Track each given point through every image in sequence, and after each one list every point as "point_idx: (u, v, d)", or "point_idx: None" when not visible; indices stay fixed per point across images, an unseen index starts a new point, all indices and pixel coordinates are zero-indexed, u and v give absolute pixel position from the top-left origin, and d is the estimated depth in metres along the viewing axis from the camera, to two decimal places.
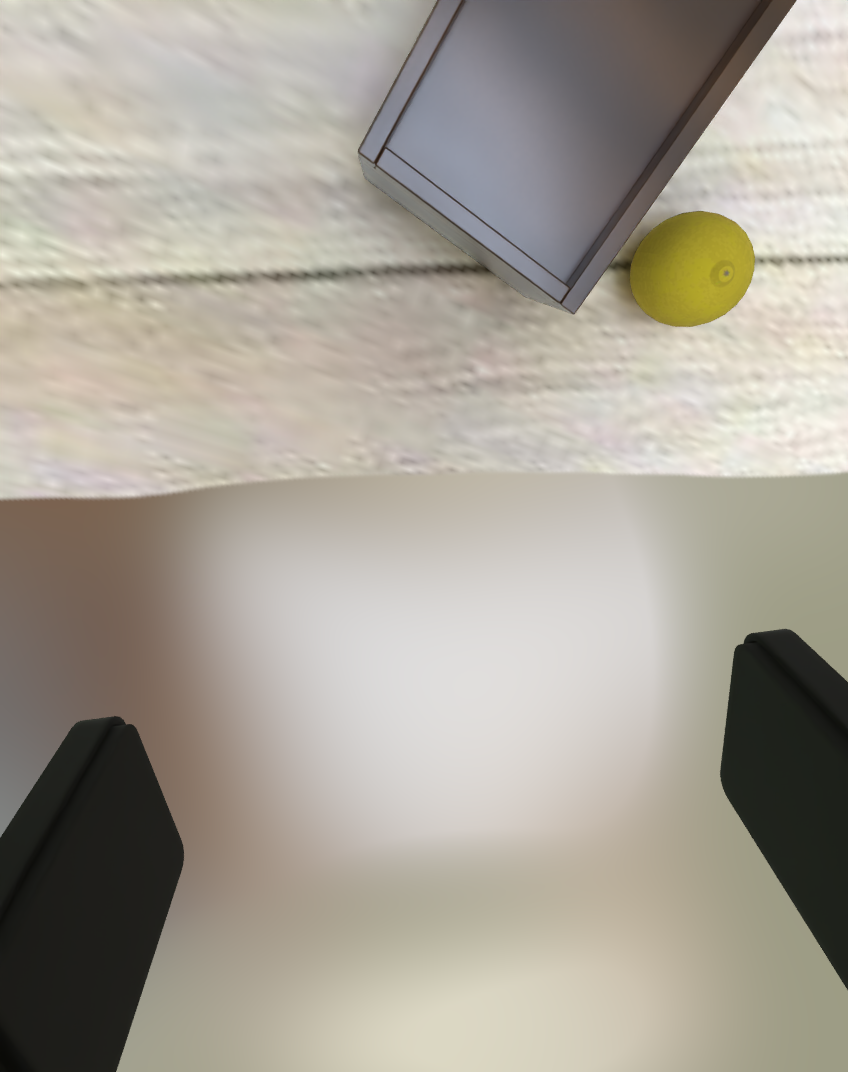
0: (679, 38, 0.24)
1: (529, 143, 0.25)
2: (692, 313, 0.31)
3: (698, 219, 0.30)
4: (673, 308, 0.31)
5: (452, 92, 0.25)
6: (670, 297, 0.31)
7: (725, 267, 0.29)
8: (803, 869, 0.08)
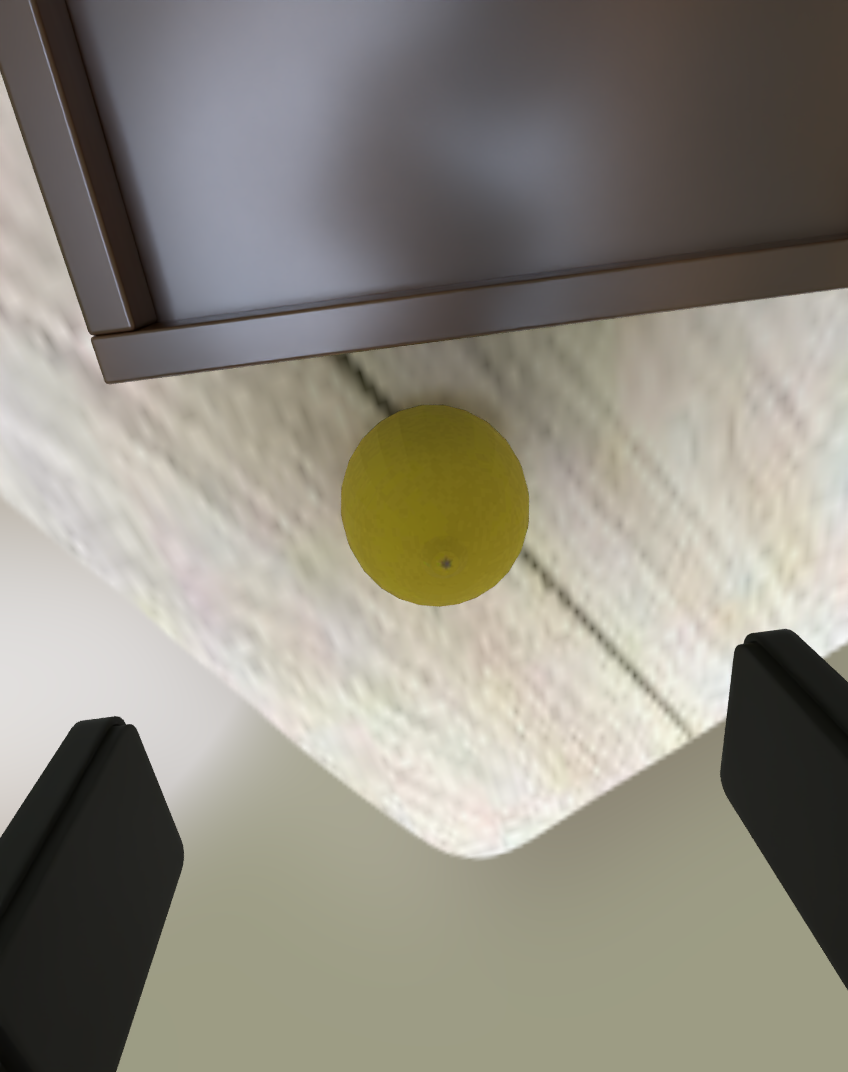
0: (681, 136, 0.11)
1: None
2: (370, 565, 0.16)
3: (488, 453, 0.16)
4: (355, 533, 0.16)
5: None
6: (362, 515, 0.16)
7: (450, 554, 0.15)
8: (803, 869, 0.08)
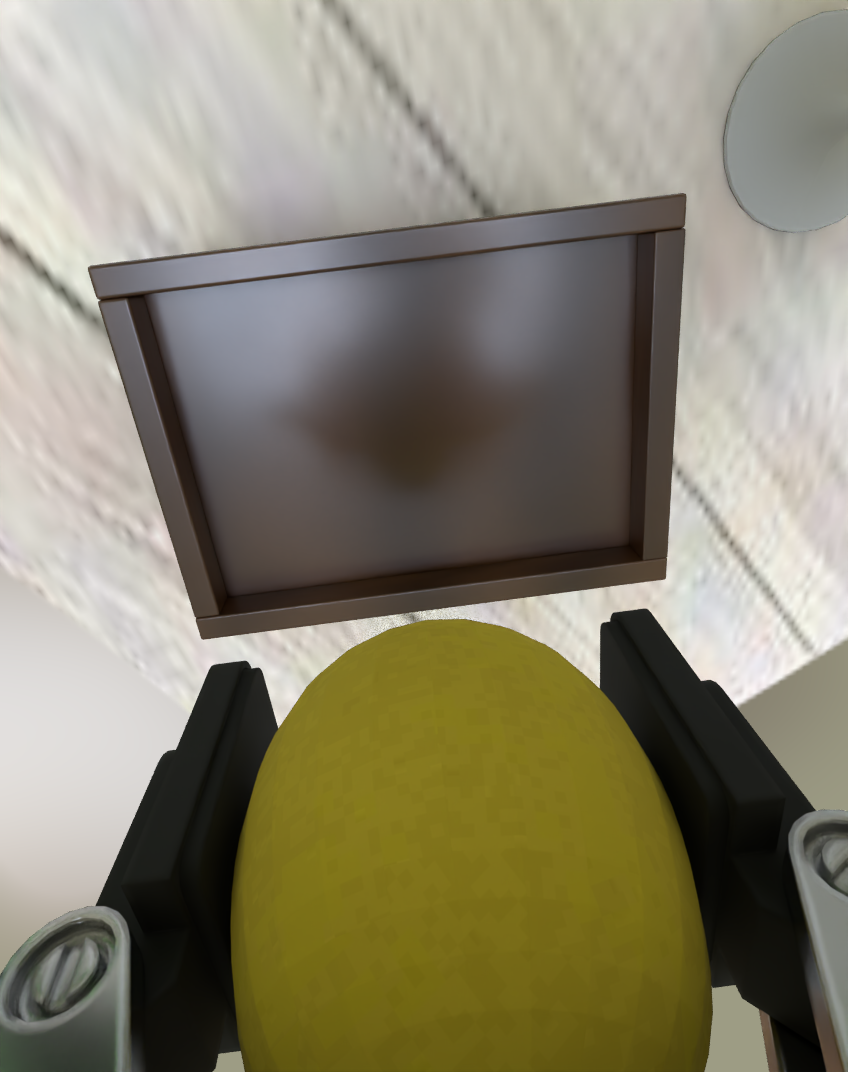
0: (509, 508, 0.20)
1: (305, 449, 0.19)
2: None
3: (624, 864, 0.06)
4: None
5: (268, 326, 0.17)
6: (259, 1058, 0.06)
7: None
8: None
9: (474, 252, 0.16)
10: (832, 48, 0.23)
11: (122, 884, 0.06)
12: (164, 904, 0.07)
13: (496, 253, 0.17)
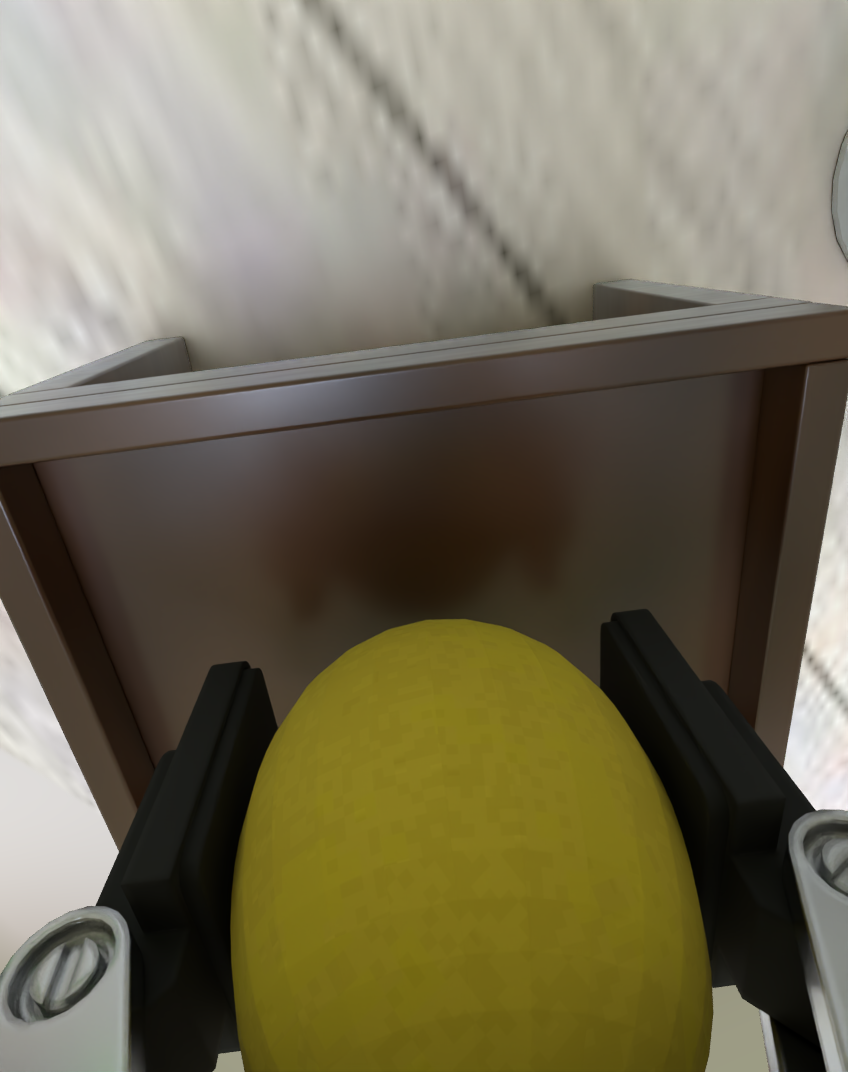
0: None
1: (275, 643, 0.13)
2: None
3: (625, 864, 0.06)
4: None
5: (216, 488, 0.12)
6: (261, 1057, 0.06)
7: None
8: None
9: (526, 398, 0.10)
10: None
11: (122, 884, 0.06)
12: (164, 904, 0.07)
13: None
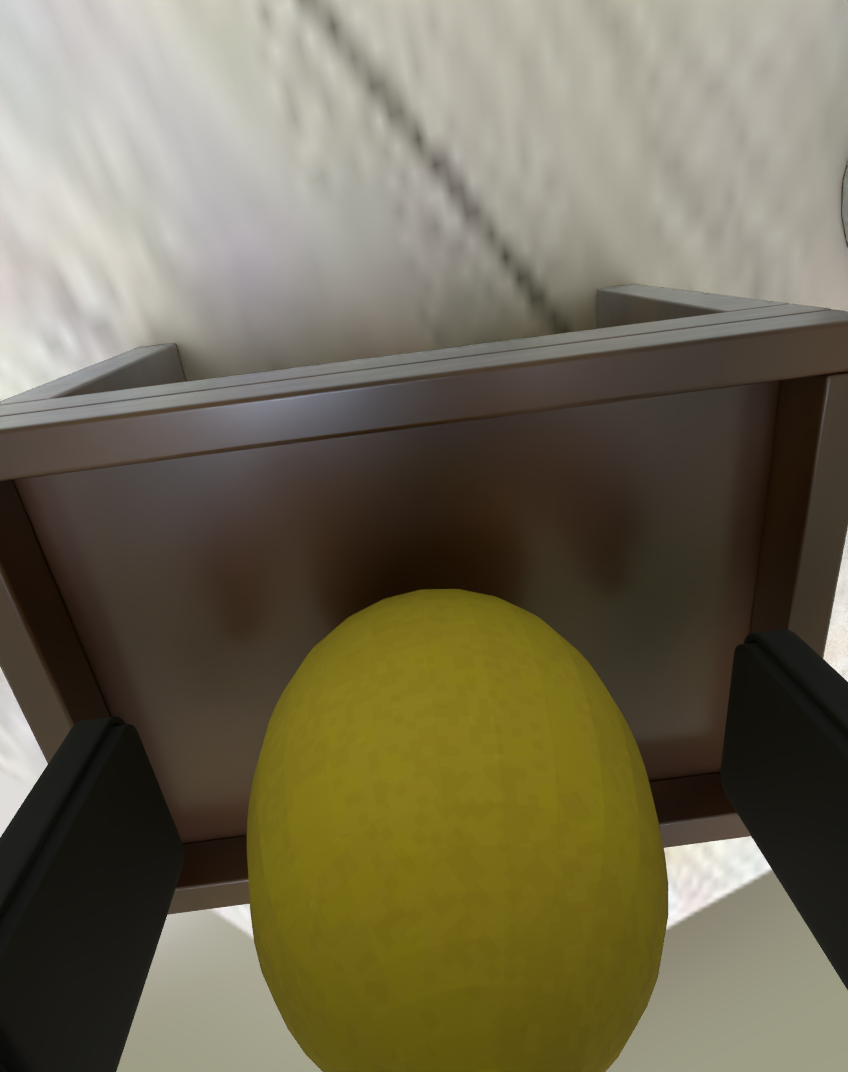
0: None
1: (269, 664, 0.13)
2: None
3: (589, 781, 0.07)
4: (264, 966, 0.07)
5: (206, 504, 0.11)
6: (275, 945, 0.06)
7: None
8: (803, 869, 0.08)
9: (532, 411, 0.10)
10: None
11: None
12: None
13: None
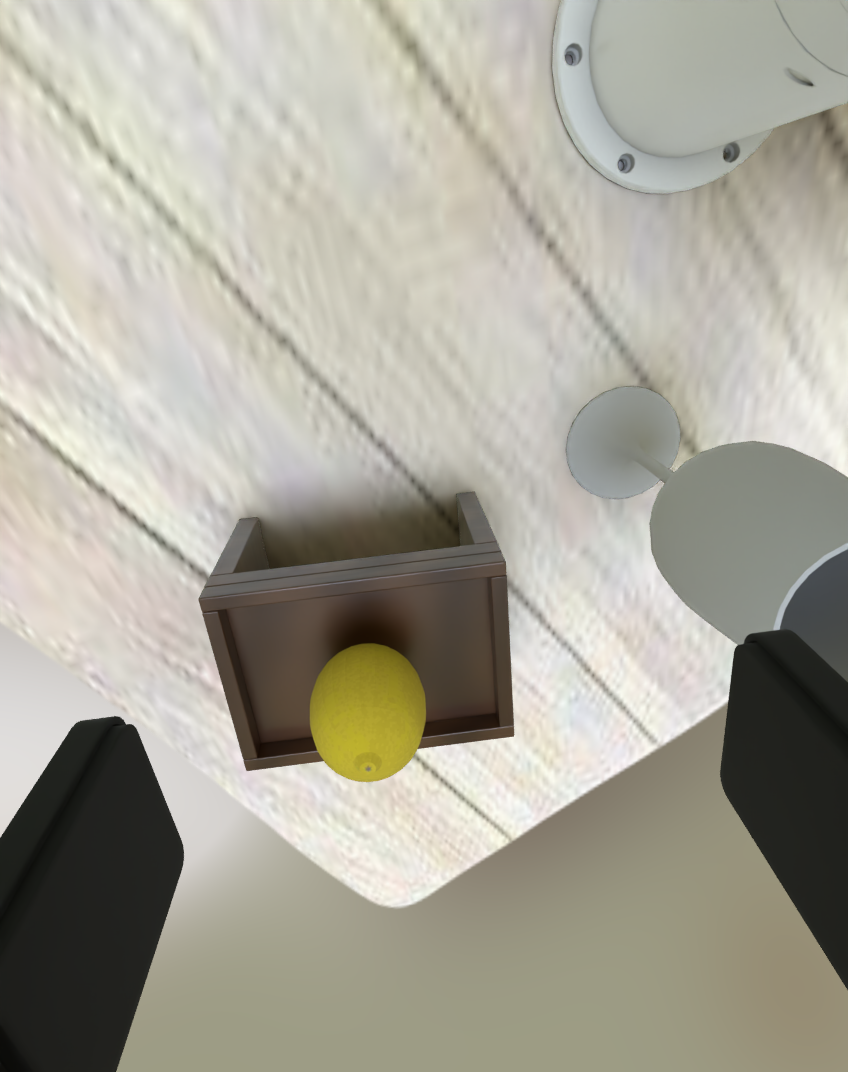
0: None
1: (308, 668, 0.33)
2: (326, 760, 0.28)
3: (396, 695, 0.27)
4: (317, 741, 0.28)
5: (289, 611, 0.32)
6: (321, 733, 0.27)
7: (370, 764, 0.26)
8: (803, 869, 0.08)
9: (397, 588, 0.31)
10: (625, 408, 0.38)
11: None
12: None
13: None
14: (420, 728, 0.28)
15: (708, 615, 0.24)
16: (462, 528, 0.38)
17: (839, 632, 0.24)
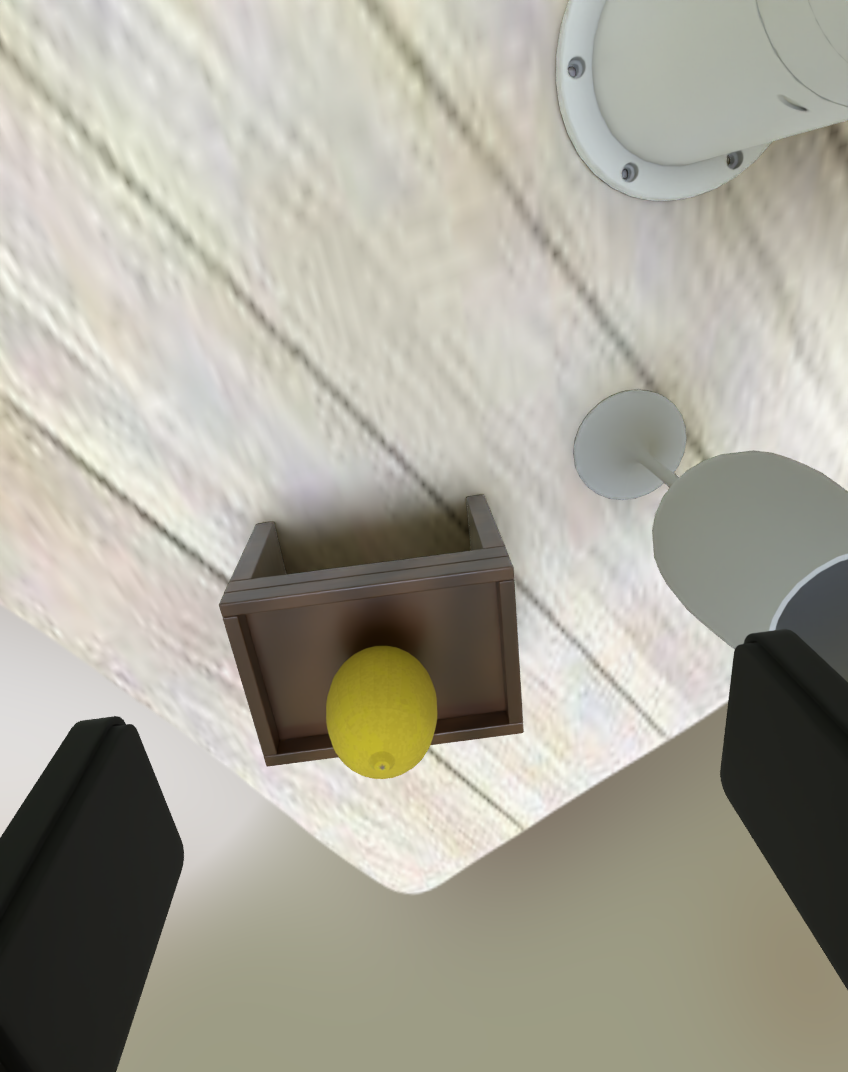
0: (436, 694, 0.36)
1: (324, 668, 0.35)
2: (342, 759, 0.29)
3: (408, 697, 0.29)
4: (333, 740, 0.29)
5: (305, 615, 0.33)
6: (337, 733, 0.29)
7: (384, 763, 0.28)
8: (803, 869, 0.08)
9: (408, 592, 0.32)
10: (632, 411, 0.38)
11: None
12: None
13: None
14: (431, 728, 0.29)
15: (707, 621, 0.25)
16: (472, 530, 0.39)
17: (835, 637, 0.25)
